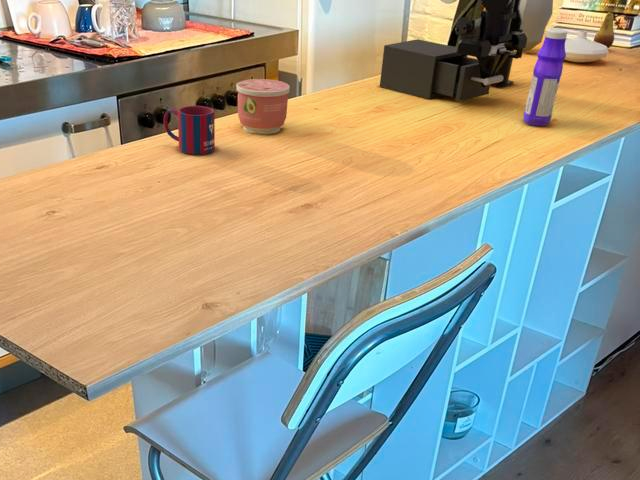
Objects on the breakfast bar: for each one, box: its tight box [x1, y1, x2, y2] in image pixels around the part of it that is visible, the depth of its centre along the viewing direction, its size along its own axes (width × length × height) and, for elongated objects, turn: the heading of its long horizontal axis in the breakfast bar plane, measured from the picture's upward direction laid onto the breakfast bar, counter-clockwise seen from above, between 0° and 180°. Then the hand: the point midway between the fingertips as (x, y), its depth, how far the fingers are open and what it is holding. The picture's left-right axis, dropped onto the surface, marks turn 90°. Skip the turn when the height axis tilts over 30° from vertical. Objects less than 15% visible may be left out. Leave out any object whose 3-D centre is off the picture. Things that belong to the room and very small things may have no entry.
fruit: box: [593, 3, 617, 49], centre depth 234 cm, size 6×6×12 cm
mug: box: [163, 105, 216, 156], centre depth 151 cm, size 7×10×7 cm
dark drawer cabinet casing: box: [379, 38, 469, 100], centre depth 191 cm, size 15×13×9 cm
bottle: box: [523, 27, 568, 127], centre depth 168 cm, size 7×6×17 cm
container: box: [235, 78, 291, 135], centre depth 162 cm, size 10×10×8 cm
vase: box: [563, 29, 610, 63], centre depth 223 cm, size 16×16×7 cm
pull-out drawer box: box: [432, 56, 503, 102], centre depth 186 cm, size 18×12×7 cm, turn 44°
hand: (484, 86), depth 183 cm, fingers closed, pressing on pull-out drawer box
